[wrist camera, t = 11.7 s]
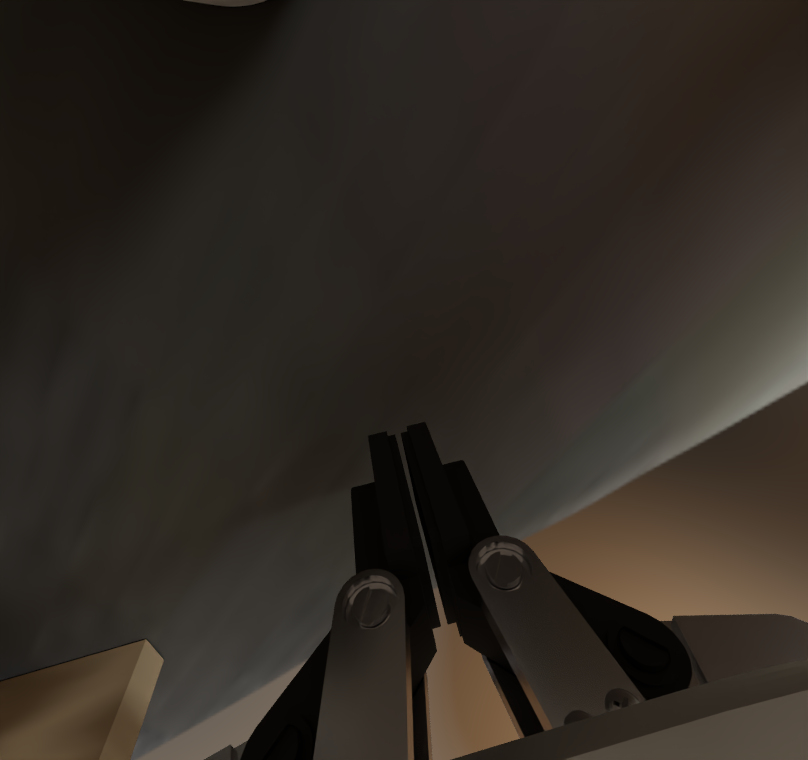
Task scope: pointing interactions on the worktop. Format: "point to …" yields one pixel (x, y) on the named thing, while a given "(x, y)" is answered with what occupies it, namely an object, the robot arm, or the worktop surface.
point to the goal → (79, 706)
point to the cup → (228, 2)
